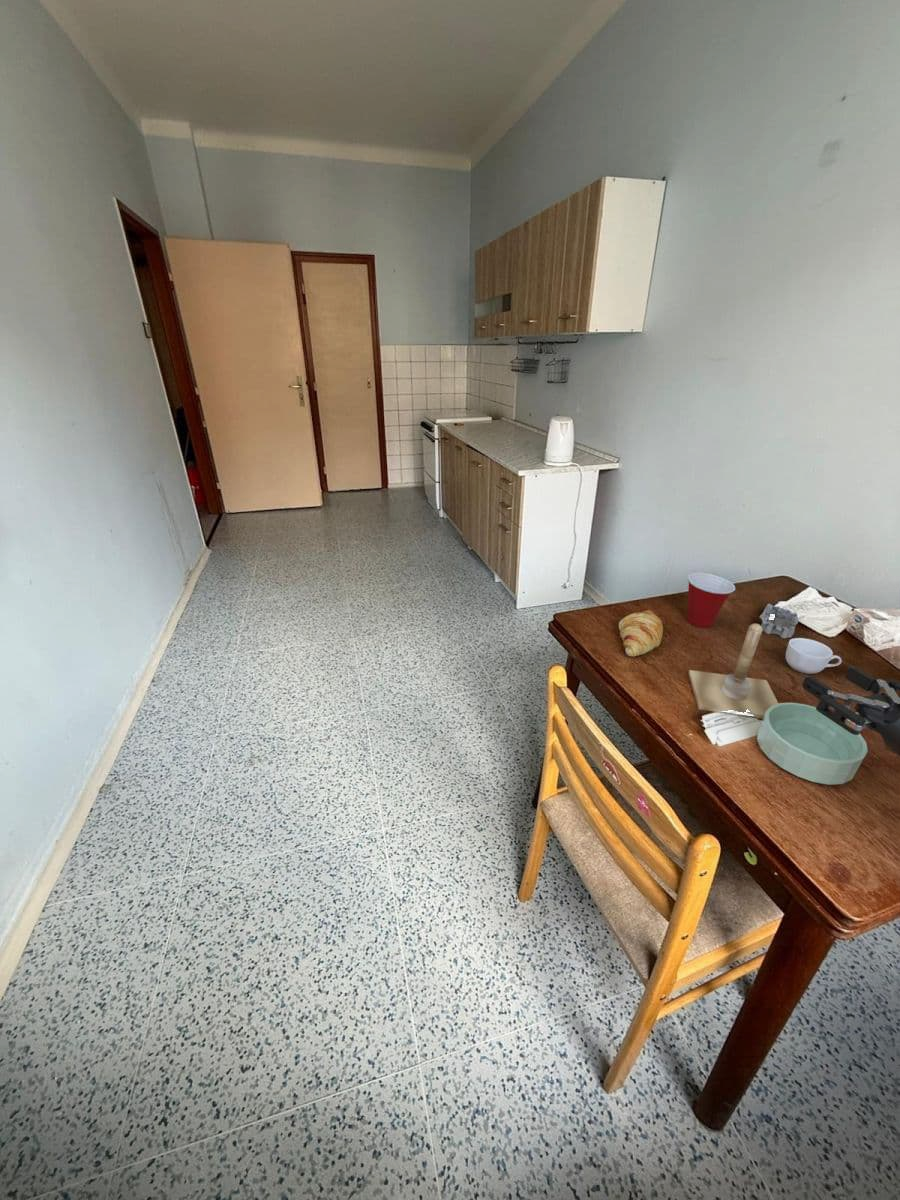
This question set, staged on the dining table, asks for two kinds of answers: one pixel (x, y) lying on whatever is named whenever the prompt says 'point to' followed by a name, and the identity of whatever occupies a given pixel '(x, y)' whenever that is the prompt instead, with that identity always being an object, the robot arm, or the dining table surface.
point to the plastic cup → (706, 598)
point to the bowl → (810, 744)
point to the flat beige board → (715, 700)
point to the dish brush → (743, 666)
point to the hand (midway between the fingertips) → (827, 676)
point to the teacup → (809, 655)
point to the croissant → (640, 632)
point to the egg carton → (779, 621)
